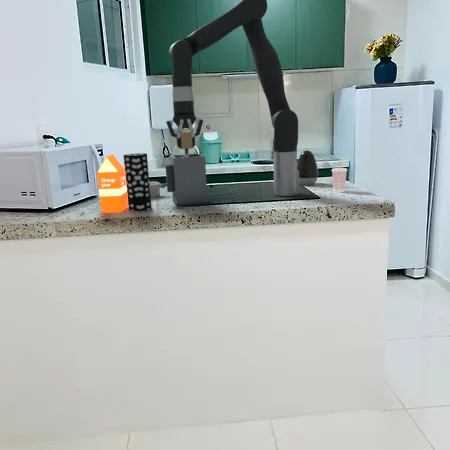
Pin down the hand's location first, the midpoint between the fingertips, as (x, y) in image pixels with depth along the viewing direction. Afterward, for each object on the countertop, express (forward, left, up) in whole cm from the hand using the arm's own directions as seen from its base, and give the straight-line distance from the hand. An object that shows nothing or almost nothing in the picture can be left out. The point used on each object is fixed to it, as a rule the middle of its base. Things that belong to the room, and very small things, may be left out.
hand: (186, 147), depth 166 cm
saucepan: (+11, -21, -21) cm, 32 cm away
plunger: (0, 0, -19) cm, 19 cm away
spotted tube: (+19, +3, -21) cm, 29 cm away
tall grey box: (+1, 0, -21) cm, 21 cm away
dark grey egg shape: (-56, -18, -21) cm, 63 cm away
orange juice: (+28, 0, -21) cm, 35 cm away
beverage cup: (-61, +3, -21) cm, 65 cm away
